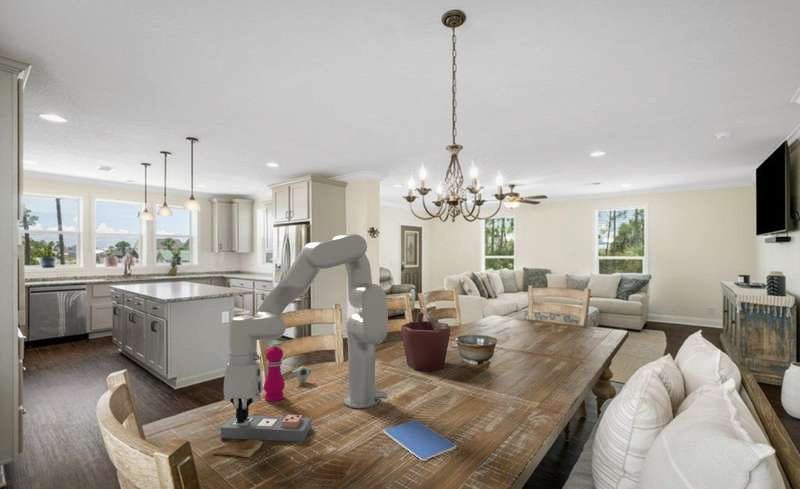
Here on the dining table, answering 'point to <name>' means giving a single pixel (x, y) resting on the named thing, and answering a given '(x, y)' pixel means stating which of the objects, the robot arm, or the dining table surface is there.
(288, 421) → the key three pips
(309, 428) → the key panel
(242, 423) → the key two pips
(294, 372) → the pig figurine
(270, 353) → the pepper mill
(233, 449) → the shard
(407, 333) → the bucket
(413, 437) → the tablet computer
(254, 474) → the dining table surface
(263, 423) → the key one pip
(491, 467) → the dining table surface
